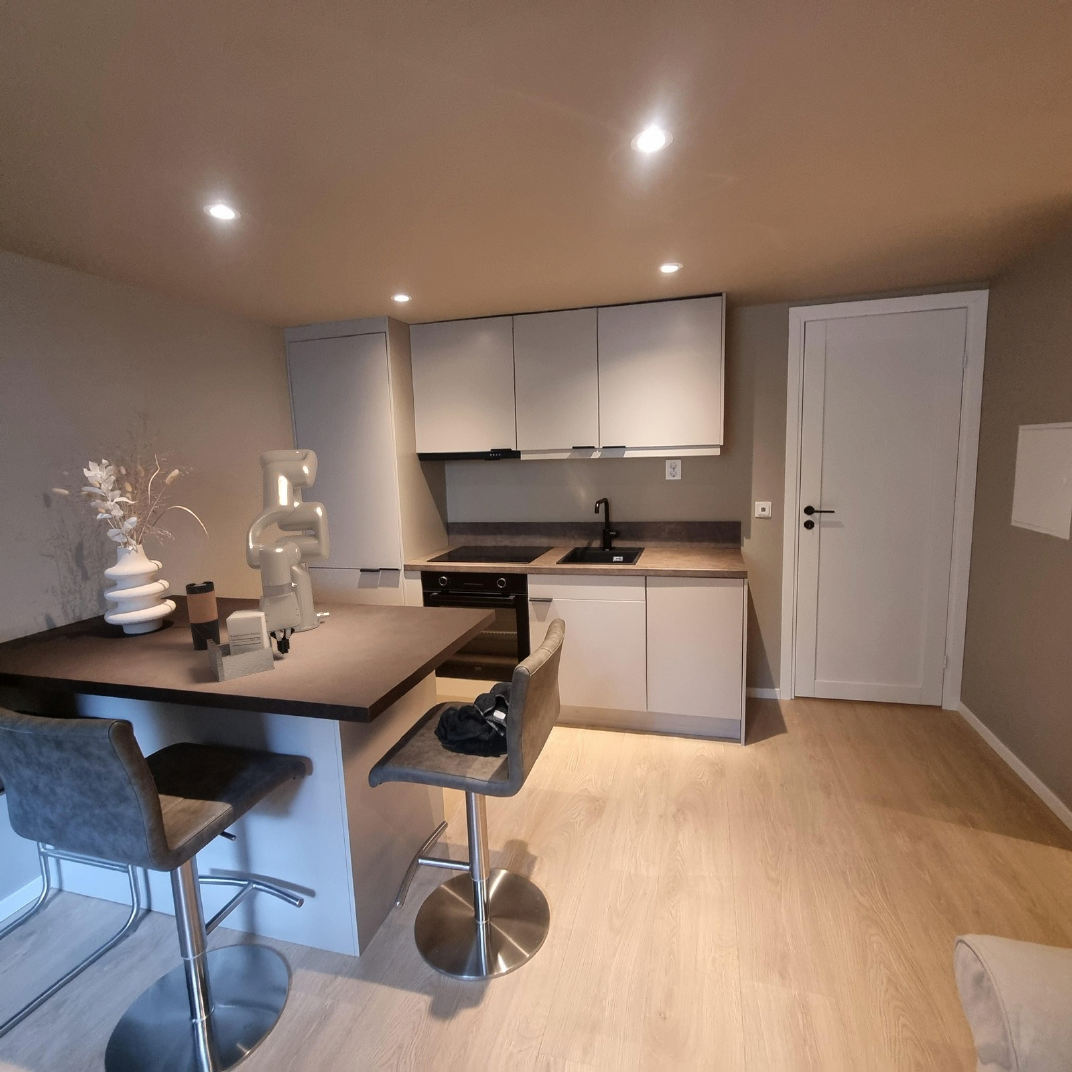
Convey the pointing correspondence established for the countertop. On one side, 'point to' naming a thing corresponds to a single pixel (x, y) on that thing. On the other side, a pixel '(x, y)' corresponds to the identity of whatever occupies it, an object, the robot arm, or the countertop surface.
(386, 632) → the countertop surface
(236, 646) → the supplement box
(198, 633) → the travel mug
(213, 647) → the bracket
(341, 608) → the countertop surface
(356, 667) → the countertop surface
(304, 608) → the robot arm
